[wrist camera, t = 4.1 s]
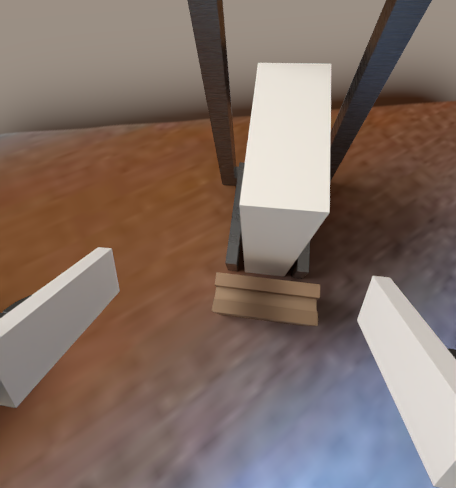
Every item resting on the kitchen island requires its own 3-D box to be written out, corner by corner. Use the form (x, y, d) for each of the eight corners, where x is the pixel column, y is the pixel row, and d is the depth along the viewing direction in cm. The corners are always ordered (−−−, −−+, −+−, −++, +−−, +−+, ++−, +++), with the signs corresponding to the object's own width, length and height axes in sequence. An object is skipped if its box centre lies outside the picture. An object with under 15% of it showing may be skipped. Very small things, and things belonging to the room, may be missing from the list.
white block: (289, 197, 28) (331, 63, 14) (284, 276, 25) (329, 212, 11) (253, 194, 28) (258, 62, 14) (244, 272, 26) (239, 205, 11)
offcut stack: (303, 294, 24) (320, 284, 19) (302, 325, 24) (319, 325, 18) (223, 284, 25) (216, 272, 20) (219, 314, 25) (210, 310, 19)
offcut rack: (324, 180, 28) (506, -173, 8) (322, 280, 25) (630, 92, 5) (224, 173, 29) (172, -143, 10) (209, 267, 26) (78, 79, 6)
